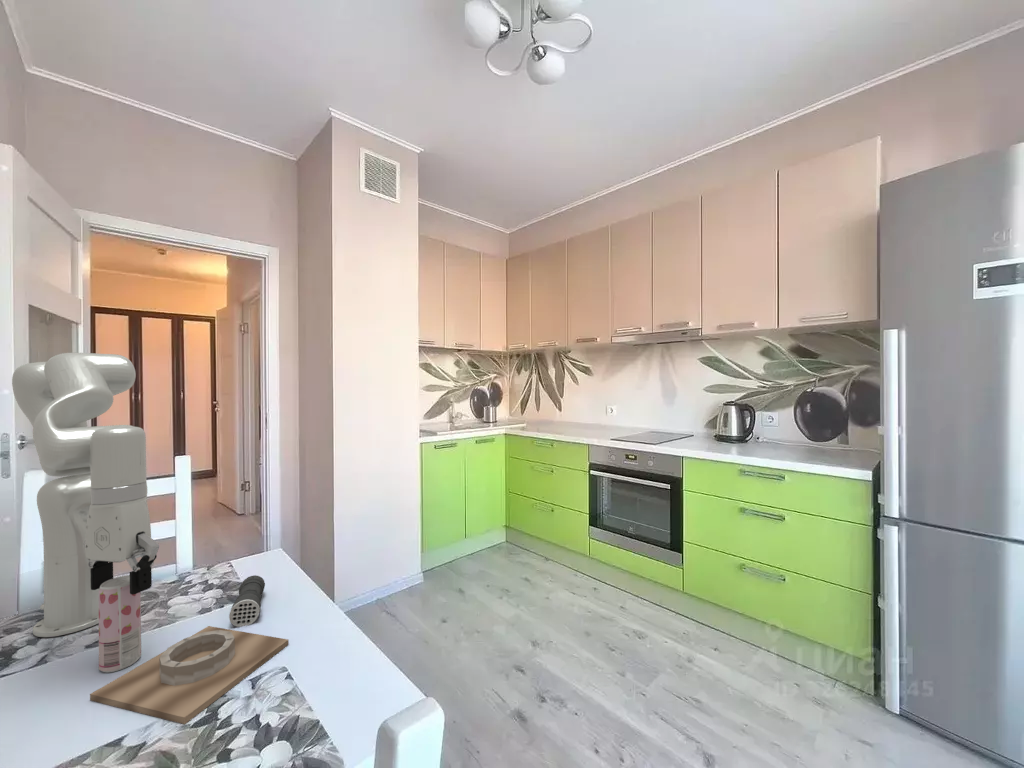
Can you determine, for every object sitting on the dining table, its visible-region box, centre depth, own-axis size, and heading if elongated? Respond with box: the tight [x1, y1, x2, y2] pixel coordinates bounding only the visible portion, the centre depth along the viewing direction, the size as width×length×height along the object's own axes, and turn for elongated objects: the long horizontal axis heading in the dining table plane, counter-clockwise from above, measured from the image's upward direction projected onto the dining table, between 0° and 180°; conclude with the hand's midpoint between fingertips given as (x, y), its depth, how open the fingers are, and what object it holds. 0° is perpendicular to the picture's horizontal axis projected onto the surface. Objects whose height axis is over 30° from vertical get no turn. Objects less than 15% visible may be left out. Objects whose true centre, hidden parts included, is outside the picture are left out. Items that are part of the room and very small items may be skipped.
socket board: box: [89, 625, 290, 725], centre depth 75 cm, size 20×20×4 cm
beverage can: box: [98, 574, 142, 673], centre depth 77 cm, size 6×6×15 cm
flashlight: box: [228, 574, 266, 628], centre depth 96 cm, size 15×5×5 cm, turn 26°
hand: (121, 588), depth 77 cm, fingers open, 9 cm apart
